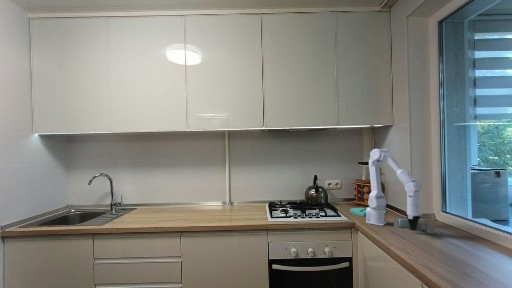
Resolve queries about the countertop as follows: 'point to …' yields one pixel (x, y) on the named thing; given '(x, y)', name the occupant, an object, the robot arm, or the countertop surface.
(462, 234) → the countertop surface
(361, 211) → the teal pixel art cutout
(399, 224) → the grey long flat piece
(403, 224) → the pale blue stick
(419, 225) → the block
